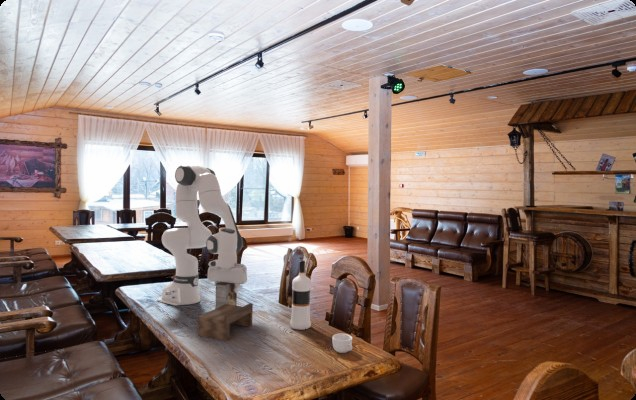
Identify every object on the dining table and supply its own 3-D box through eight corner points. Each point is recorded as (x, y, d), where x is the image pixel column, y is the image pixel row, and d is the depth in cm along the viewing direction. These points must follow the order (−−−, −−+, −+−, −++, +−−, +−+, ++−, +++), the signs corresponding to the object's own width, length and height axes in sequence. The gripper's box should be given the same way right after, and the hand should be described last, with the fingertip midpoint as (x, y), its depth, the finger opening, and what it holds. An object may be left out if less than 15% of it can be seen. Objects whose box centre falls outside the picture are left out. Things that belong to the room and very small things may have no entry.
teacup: (328, 349, 165) (328, 335, 164) (343, 345, 169) (344, 332, 169) (343, 358, 156) (343, 344, 156) (359, 354, 160) (360, 340, 160)
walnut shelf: (198, 335, 175) (198, 311, 174) (225, 321, 193) (225, 299, 193) (227, 341, 170) (227, 316, 169) (252, 325, 188) (252, 303, 188)
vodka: (286, 324, 191) (288, 259, 189) (305, 322, 195) (307, 258, 194) (294, 331, 182) (296, 263, 181) (314, 329, 186) (316, 261, 185)
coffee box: (225, 311, 208) (226, 279, 207) (236, 313, 206) (237, 280, 205) (214, 316, 199) (215, 283, 199) (226, 318, 197) (227, 284, 196)
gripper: (249, 263, 201) (249, 292, 201) (213, 260, 208) (213, 288, 208) (242, 265, 195) (242, 295, 195) (205, 262, 202) (205, 290, 202)
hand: (227, 291), depth 202 cm, fingers open, 8 cm apart
